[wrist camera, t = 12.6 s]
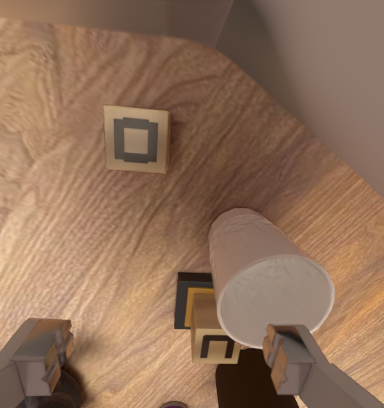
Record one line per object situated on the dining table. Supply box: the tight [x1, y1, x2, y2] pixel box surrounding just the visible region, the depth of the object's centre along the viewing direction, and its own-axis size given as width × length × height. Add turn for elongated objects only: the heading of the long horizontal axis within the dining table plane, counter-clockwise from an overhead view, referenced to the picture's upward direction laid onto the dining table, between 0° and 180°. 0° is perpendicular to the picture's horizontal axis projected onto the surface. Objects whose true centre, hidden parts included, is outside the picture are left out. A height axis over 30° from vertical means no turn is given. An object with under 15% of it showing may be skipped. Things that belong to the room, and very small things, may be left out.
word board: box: [174, 273, 214, 329], centre depth 26 cm, size 7×17×2 cm, turn 85°
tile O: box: [103, 105, 171, 174], centre depth 18 cm, size 4×4×5 cm
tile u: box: [190, 293, 241, 364], centre depth 23 cm, size 4×4×5 cm
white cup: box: [208, 208, 335, 349], centre depth 19 cm, size 8×8×10 cm
